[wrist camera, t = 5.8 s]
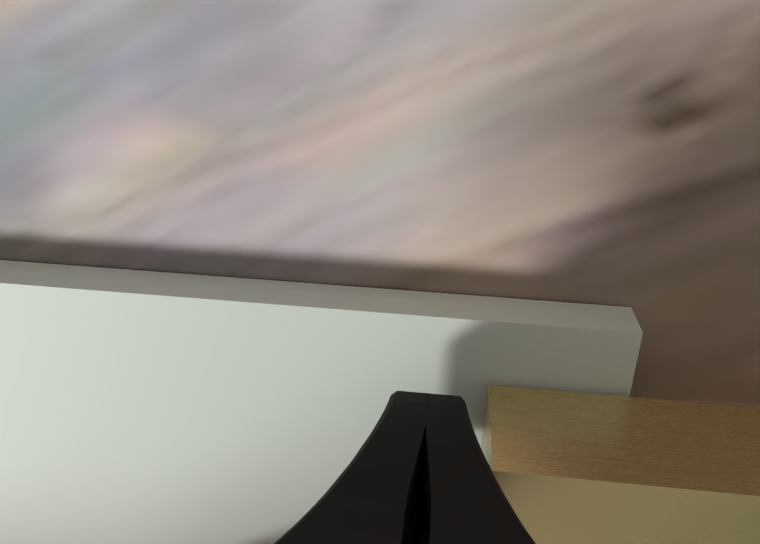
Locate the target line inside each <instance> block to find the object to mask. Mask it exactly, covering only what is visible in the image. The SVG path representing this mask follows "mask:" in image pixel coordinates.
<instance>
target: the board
mask: <svg viewBox="0 0 760 544" xmlns="http://www.w3.org/2000/svg"><path fill="white" fill-rule="evenodd" d="M642 336H643V332H642V329H641V327H640V325H639V323H638V321H637V318H636V316H635V314H634V312H633V310H632V307H622V306H609V305H596V304H582V303H569V302H556V301H542V300H529V299H516V298H502V297H489V296H476V295H462V294H449V293H436V292H422V291H409V290H396V289H382V288H369V287H355V286H342V285H329V284H315V283H302V282H289V281H275V280H262V279H249V278H235V277H222V276H209V275H195V274H182V273H169V272H155V271H142V270H129V269H115V268H102V267H89V266H75V265H62V264H48V263H35V262H22V261H8V260H0V544H274V543H275V542H276V541H277V540H278V539H279V538H280V537H282V536H283V535H284V534H285V533H286V532H287V531H288V530H289V529H290V528H292V527H293V526H294V525H295V524H296V523H297V522H298V521H299V520H300V519H301V518H302V517H303V516H304V515H305V514H306V513H307V512H308V511H309V510H310V509H311V508H312V507H313V506H314V505H315V504H316V503H317V502H318V501H319V499H320V498H321V497H322V496H323V495H324V494H325V493H326V492H327V491H328V489H329V488H330V487H331V486H332V485H333V483H334V482H335V481H336V480H337V478H338V477H339V476H340V475H341V473H342V472H343V471H344V470H345V469H346V467H347V466H348V465H349V464H350V462H351V461H352V460H353V458H354V457H355V455H356V454H357V453H358V451H359V450H360V448H361V447H362V445H363V444H364V442H365V441H366V440H367V438H368V437H369V435H370V434H371V432H372V430H373V429H374V427H375V426H376V424H377V422H378V421H379V419H380V417H381V415H382V413H383V412H384V410H385V408H386V405H387V403H388V401H389V398H390V396H391V395H392V394H393V393H395V392H396V391H407V392H419V393H430V394H442V395H453V396H461V397H462V399H463V400H464V401H465V402H466V407H467V411H468V414H469V418H470V421H471V424H472V427H473V430H474V432H475V435H476V437H477V440H478V442H479V445H480V447H481V443H482V435H483V426H484V417H485V408H486V399H487V390H488V385H498V386H510V387H521V388H533V389H545V390H556V391H568V392H580V393H591V394H603V395H615V396H626V397H629V396H630V392H631V387H632V382H633V378H634V373H635V368H636V364H637V359H638V355H639V350H640V345H641V341H642Z"/></svg>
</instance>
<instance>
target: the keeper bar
mask: <svg viewBox="0 0 760 544" xmlns="http://www.w3.org/2000/svg"><path fill="white" fill-rule="evenodd" d="M481 449H482V451H483V454H484V456H485V458H486V460H487V462H488V464H489V466H490V468H491V470H492V472H493V474H494V476H495V478H496V480H497V482H498V484H499V486H500V488H501V489H502V491H503V493H504V495H505V496H506V498H507V500H508V502H509V503H510V505H511V507H512V508H513V510H514V512H515V513H516V515H517V516H518V518H519V520H520V521H521V523H522V524H523V526H524V527H525V529H526V530H527V532H528V533H529V535H530V536H531V537H532V539H533V540H534V542H535V543H536V544H760V408H755V407H743V406H732V405H720V404H708V403H697V402H685V401H673V400H662V399H650V398H638V397H626V396H615V395H603V394H591V393H580V392H568V391H556V390H545V389H533V388H521V387H510V386H498V385H488V390H487V399H486V408H485V417H484V426H483V435H482V443H481Z"/></svg>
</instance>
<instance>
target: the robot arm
mask: <svg viewBox="0 0 760 544" xmlns="http://www.w3.org/2000/svg"><path fill="white" fill-rule="evenodd" d="M274 544H536V543H535V542H534V540H533V539H532V537H531V536H530V535H529V533H528V532H527V530H526V529H525V527H524V526H523V524H522V523H521V521H520V520H519V518H518V516H517V515H516V513H515V512H514V510H513V508H512V507H511V505H510V503H509V502H508V500H507V498H506V496H505V495H504V493H503V491H502V489H501V488H500V486H499V484H498V482H497V480H496V478H495V476H494V474H493V472H492V470H491V468H490V466H489V464H488V462H487V460H486V458H485V456H484V454H483V451H482V449H481V447H480V445H479V442H478V440H477V437H476V435H475V432H474V430H473V427H472V424H471V421H470V418H469V414H468V411H467V407H466V402H465V401H464V400H463V399H462V397H461V396H453V395H442V394H430V393H419V392H407V391H396V392H395V393H393V394H392V395H391V396H390V398H389V401H388V403H387V405H386V408H385V410H384V412H383V413H382V415H381V417H380V419H379V421H378V422H377V424H376V426H375V427H374V429H373V430H372V432H371V434H370V435H369V437H368V438H367V440H366V441H365V442H364V444H363V445H362V447H361V448H360V450H359V451H358V453H357V454H356V455H355V457H354V458H353V460H352V461H351V462H350V464H349V465H348V466H347V467H346V469H345V470H344V471H343V472H342V473H341V475H340V476H339V477H338V478H337V480H336V481H335V482H334V483H333V485H332V486H331V487H330V488H329V489H328V491H327V492H326V493H325V494H324V495H323V496H322V497H321V498H320V499H319V501H318V502H317V503H316V504H315V505H314V506H313V507H312V508H311V509H310V510H309V511H308V512H307V513H306V514H305V515H304V516H303V517H302V518H301V519H300V520H299V521H298V522H297V523H296V524H295V525H294V526H293V527H292V528H290V529H289V530H288V531H287V532H286V533H285V534H284V535H283V536H282V537H280V538H279V539H278V540H277V541H276V542H275V543H274Z"/></svg>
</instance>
